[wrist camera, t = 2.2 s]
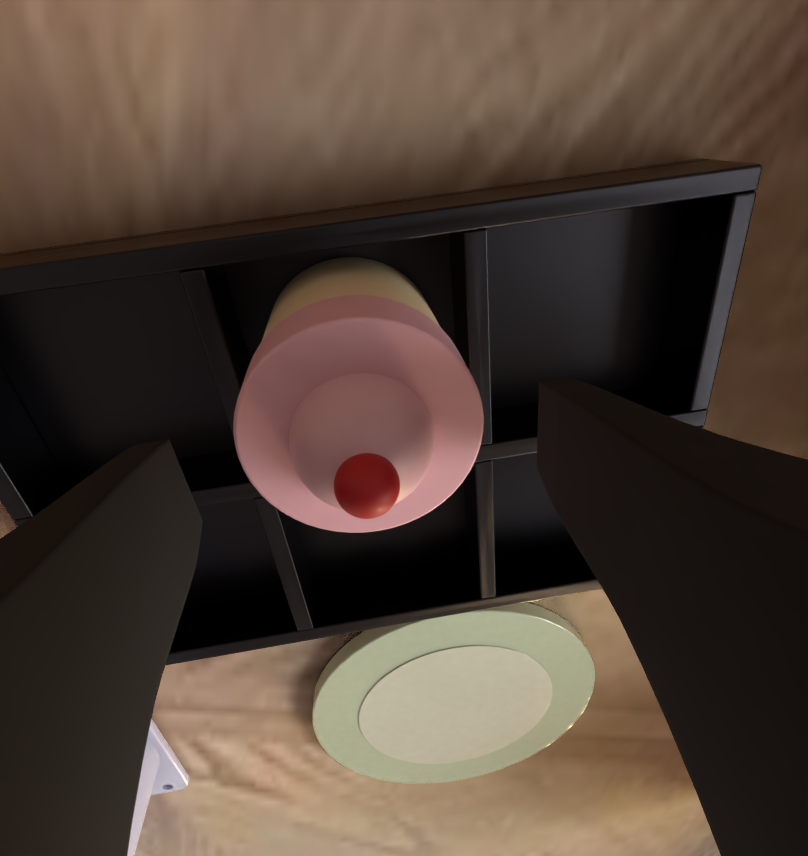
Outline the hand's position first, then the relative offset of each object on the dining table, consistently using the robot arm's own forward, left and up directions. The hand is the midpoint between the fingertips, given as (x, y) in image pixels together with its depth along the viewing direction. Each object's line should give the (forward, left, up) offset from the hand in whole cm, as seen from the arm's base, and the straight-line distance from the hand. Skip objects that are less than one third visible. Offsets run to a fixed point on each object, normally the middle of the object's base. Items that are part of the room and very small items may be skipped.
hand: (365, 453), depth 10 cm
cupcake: (0, 0, -6) cm, 6 cm away
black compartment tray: (0, -3, -7) cm, 7 cm away
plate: (+2, -19, -7) cm, 21 cm away
